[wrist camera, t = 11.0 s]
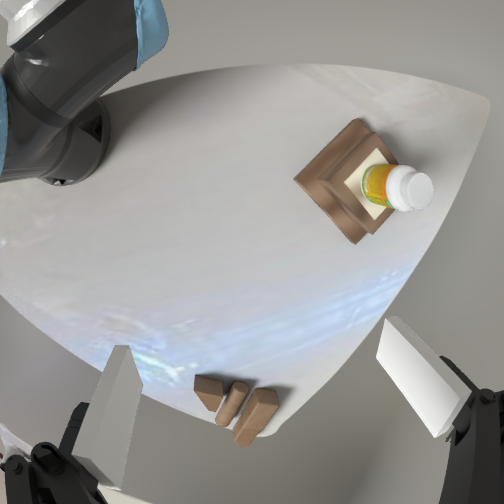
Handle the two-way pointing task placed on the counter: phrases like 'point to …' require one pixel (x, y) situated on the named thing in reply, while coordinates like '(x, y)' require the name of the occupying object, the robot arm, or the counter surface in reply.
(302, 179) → the plinth
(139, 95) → the counter surface
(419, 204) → the supplement bottle
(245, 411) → the wooden block set
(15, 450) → the glass holder
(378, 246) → the counter surface
